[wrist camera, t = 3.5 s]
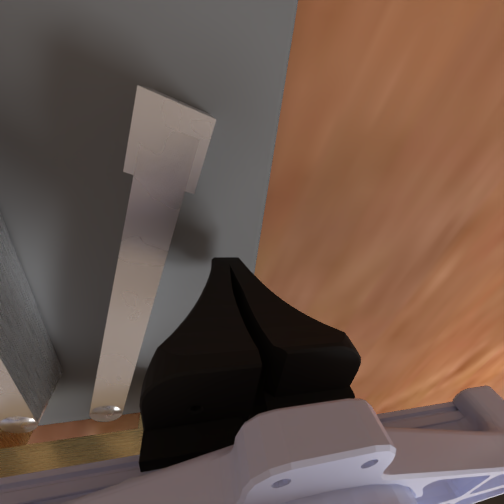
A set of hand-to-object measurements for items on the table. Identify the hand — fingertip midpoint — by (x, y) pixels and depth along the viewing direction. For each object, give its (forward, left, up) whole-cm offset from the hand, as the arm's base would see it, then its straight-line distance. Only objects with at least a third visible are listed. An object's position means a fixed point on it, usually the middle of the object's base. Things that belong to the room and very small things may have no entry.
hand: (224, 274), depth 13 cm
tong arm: (-4, -1, -1) cm, 4 cm away
